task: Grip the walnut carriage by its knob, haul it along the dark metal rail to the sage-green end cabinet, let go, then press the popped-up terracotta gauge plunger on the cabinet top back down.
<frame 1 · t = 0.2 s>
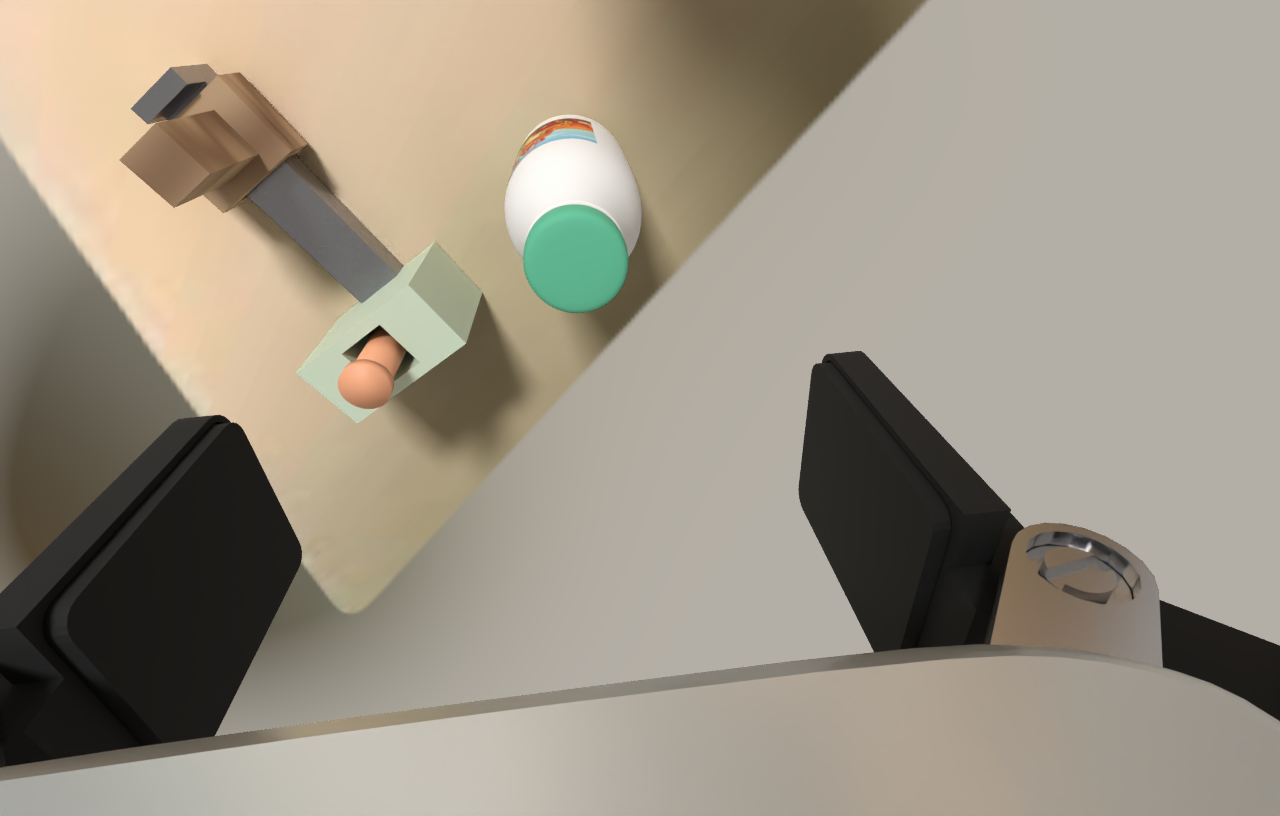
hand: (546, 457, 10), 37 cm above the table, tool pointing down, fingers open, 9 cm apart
cabinet: (411, 304, 46), on the table
rail: (302, 197, 41), on the table
gauge plunger: (379, 361, 38), point 9 cm above the table, slide at 0.0 cm
carriage: (207, 152, 35), point 5 cm above the table, slide at 0.0 cm
milk bottle: (572, 172, 43), on the table
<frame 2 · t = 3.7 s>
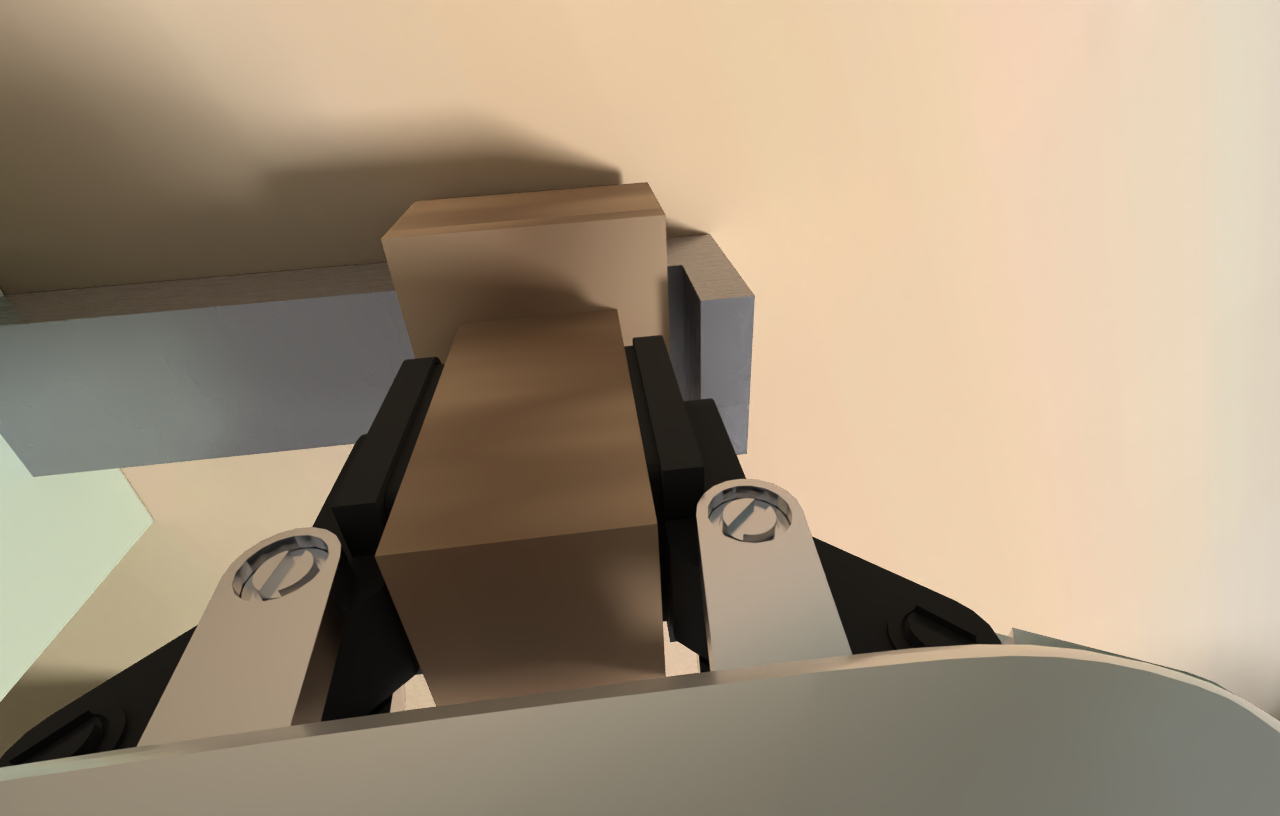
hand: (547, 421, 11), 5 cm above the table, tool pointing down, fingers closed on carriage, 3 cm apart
rail: (370, 336, 15), on the table
carriage: (547, 427, 11), point 5 cm above the table, slide at 0.0 cm, touching gripper
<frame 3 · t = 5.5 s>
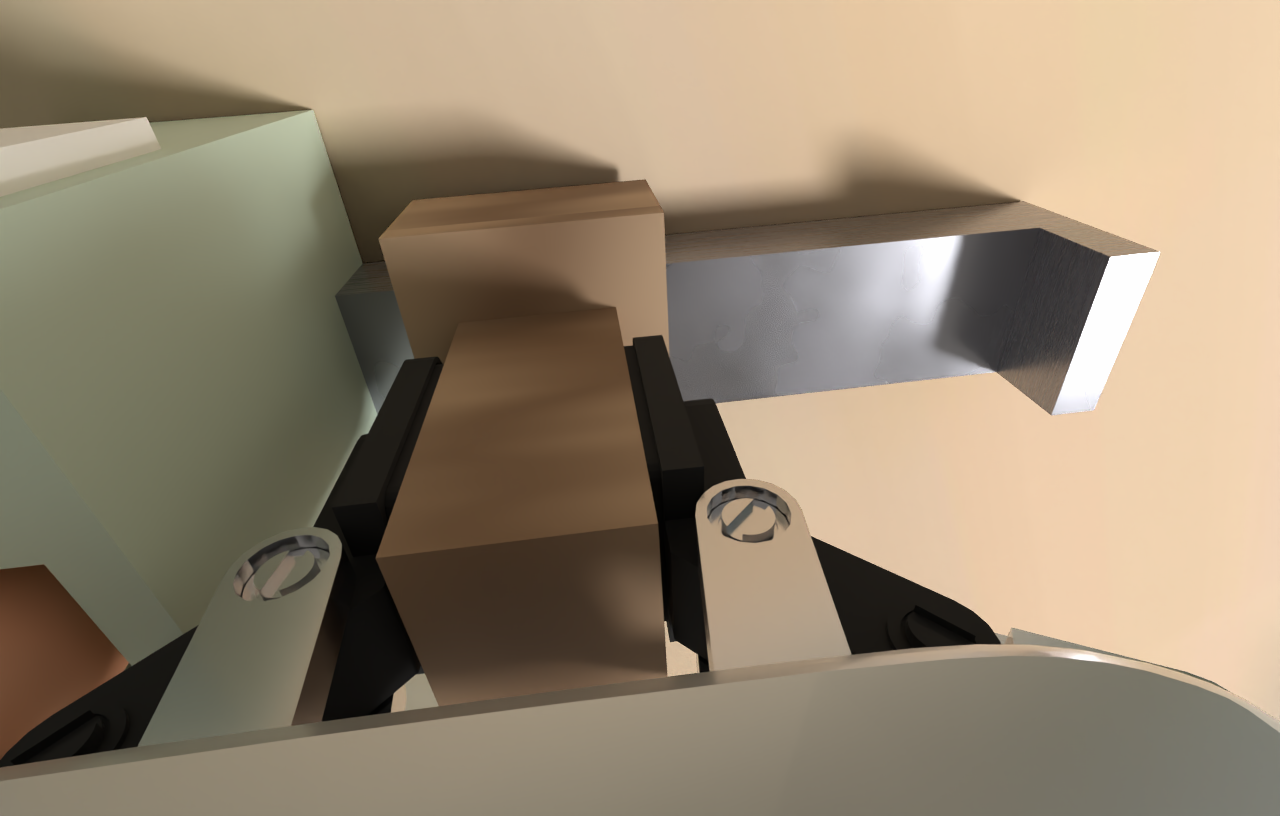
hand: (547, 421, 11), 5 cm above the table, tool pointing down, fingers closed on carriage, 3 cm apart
cabinet: (281, 344, 15), on the table
rail: (685, 303, 15), on the table
carriage: (547, 426, 11), point 5 cm above the table, slide at 7.9 cm, touching gripper
milk bottle: (450, 707, 23), on the table
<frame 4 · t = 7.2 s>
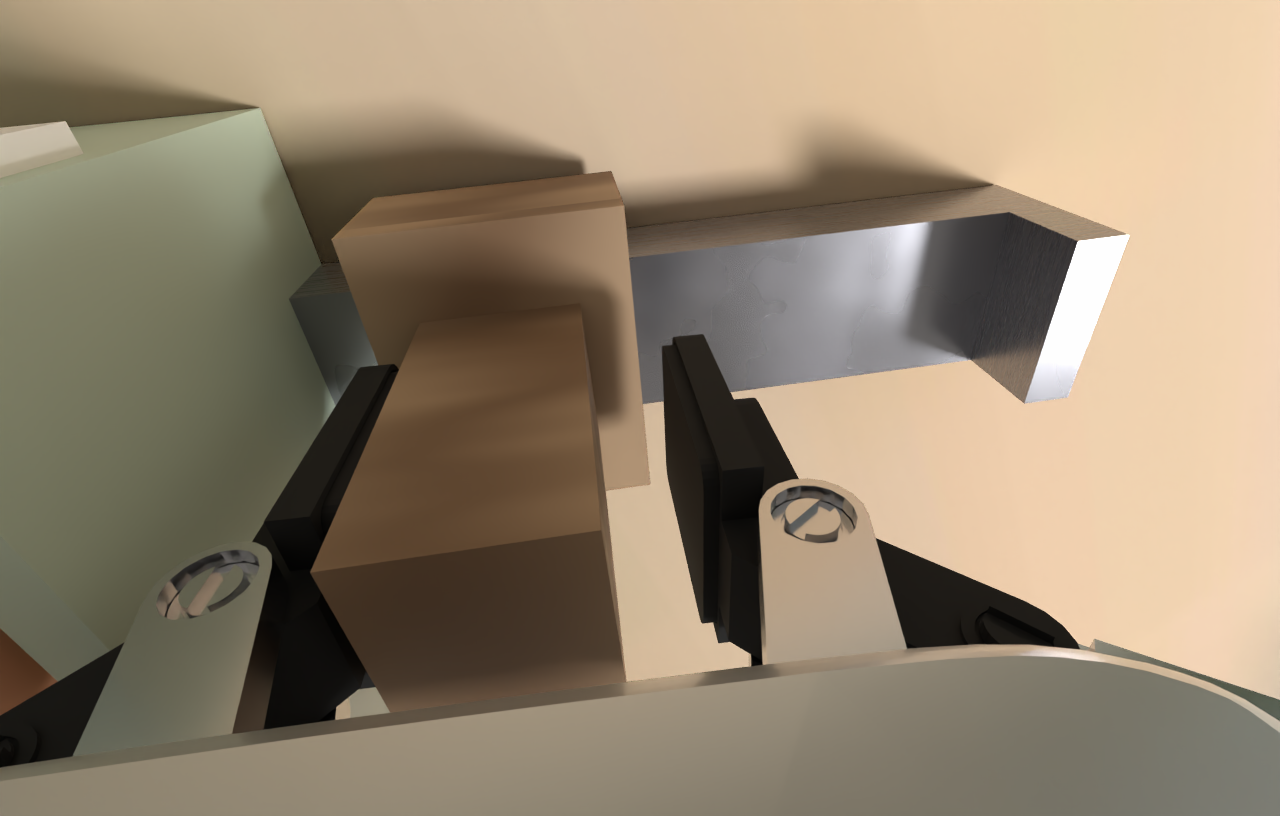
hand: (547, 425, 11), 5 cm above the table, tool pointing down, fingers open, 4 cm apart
cabinet: (243, 348, 14), on the table
rail: (653, 297, 15), on the table
carriage: (511, 426, 11), point 5 cm above the table, slide at 7.8 cm, touching gripper
milk bottle: (438, 705, 23), on the table
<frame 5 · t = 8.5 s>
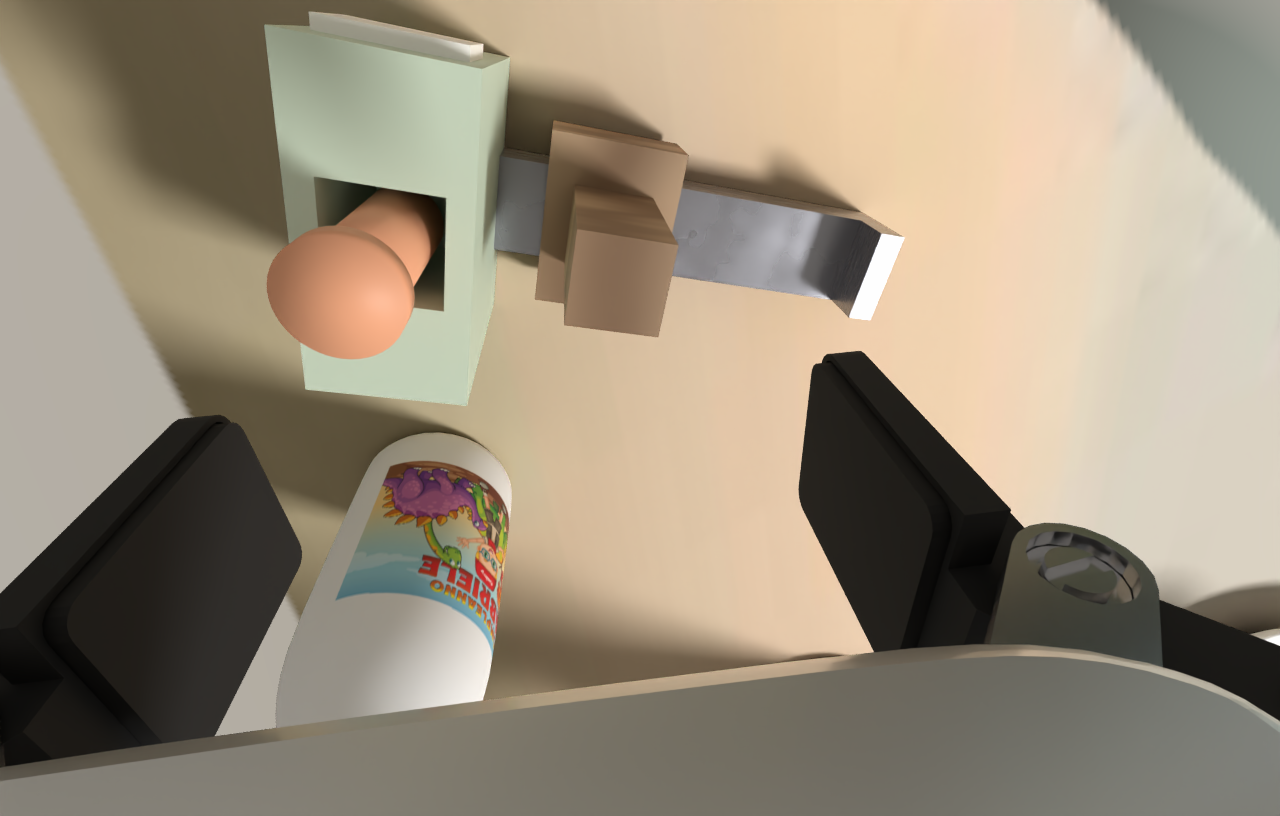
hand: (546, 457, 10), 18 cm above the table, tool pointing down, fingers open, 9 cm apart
cabinet: (439, 182, 25), on the table
rail: (673, 221, 26), on the table
gauge plunger: (378, 254, 17), point 10 cm above the table, slide at -0.2 cm
carriage: (610, 243, 22), point 5 cm above the table, slide at 7.7 cm
milk bottle: (442, 483, 33), on the table
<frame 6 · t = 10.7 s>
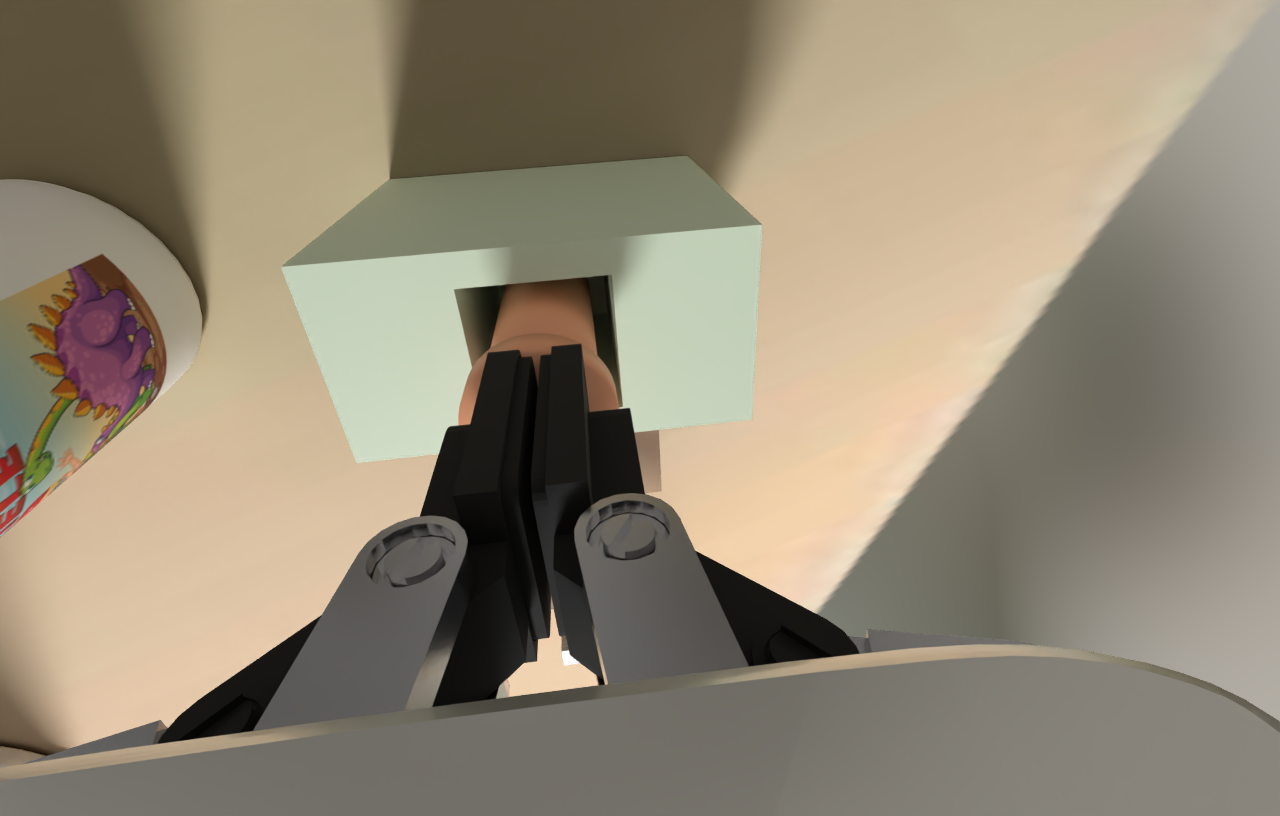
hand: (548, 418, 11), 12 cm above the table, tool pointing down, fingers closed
cabinet: (550, 241, 21), on the table
gauge plunger: (544, 345, 14), point 9 cm above the table, slide at 0.8 cm, touching gripper
carriage: (574, 475, 21), point 5 cm above the table, slide at 7.7 cm
milk bottle: (89, 290, 21), on the table
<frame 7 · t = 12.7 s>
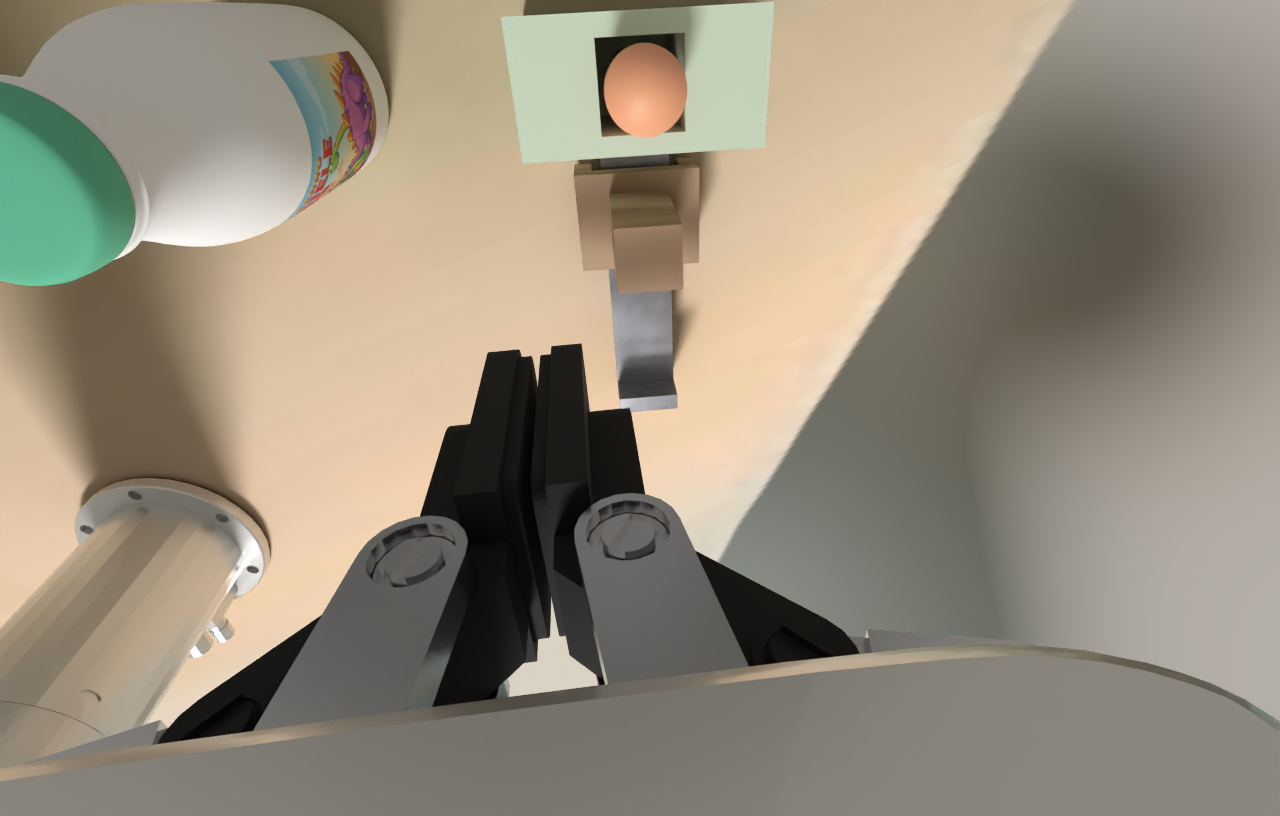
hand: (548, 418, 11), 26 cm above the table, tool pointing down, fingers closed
cabinet: (628, 68, 31), on the table
rail: (637, 257, 36), on the table
gauge plunger: (639, 83, 24), point 8 cm above the table, slide at 1.8 cm
carriage: (641, 230, 30), point 5 cm above the table, slide at 7.7 cm
milk bottle: (314, 95, 30), on the table
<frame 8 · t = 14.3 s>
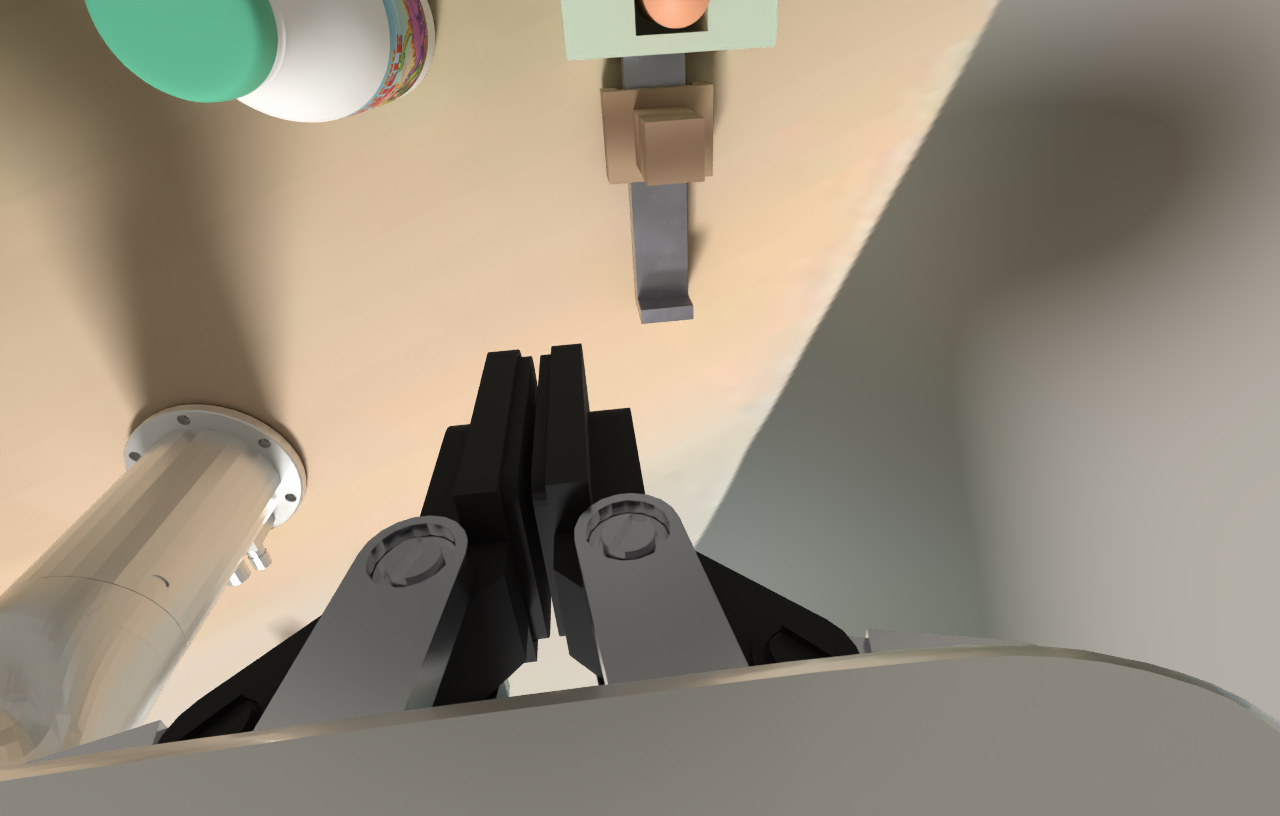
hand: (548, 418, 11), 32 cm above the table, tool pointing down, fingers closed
rail: (655, 180, 40), on the table
carriage: (663, 140, 34), point 5 cm above the table, slide at 7.7 cm
milk bottle: (367, 24, 34), on the table
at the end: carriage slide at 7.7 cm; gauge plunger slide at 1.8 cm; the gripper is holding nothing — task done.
